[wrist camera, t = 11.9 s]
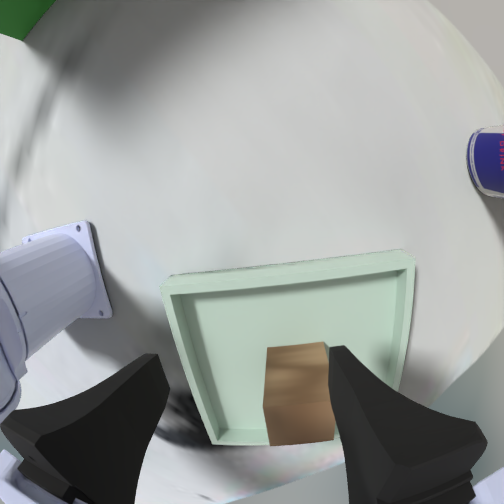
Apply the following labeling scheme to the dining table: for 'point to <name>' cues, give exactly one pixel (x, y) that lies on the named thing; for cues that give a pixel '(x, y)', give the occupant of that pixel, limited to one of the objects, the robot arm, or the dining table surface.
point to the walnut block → (297, 395)
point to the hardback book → (21, 16)
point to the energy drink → (487, 160)
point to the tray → (284, 328)
